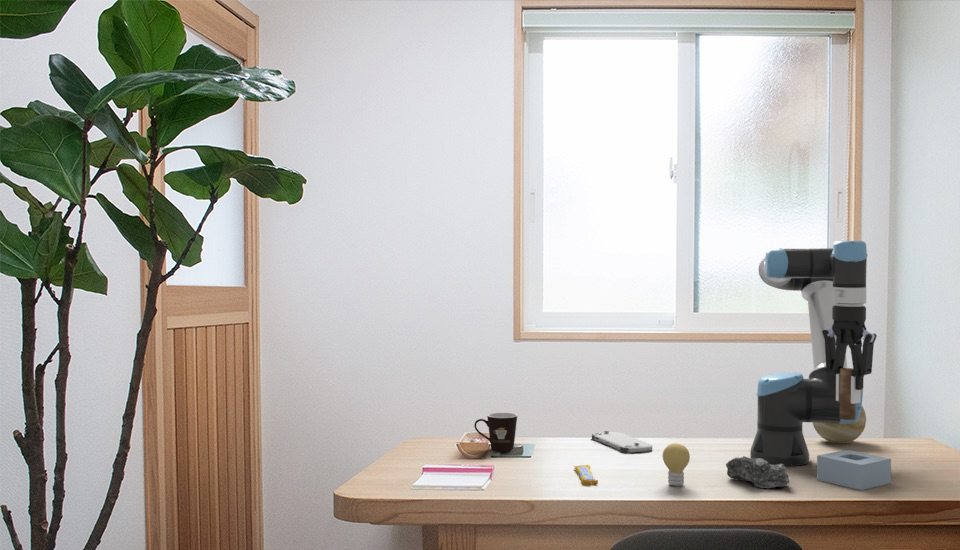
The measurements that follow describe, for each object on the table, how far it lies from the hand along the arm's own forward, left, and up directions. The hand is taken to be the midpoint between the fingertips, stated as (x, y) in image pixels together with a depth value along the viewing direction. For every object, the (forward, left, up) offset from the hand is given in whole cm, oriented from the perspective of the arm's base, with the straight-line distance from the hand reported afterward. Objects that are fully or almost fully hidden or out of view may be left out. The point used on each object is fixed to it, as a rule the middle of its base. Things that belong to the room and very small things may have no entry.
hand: (848, 401), depth 215 cm
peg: (0, 0, -4) cm, 4 cm away
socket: (+1, +3, -20) cm, 20 cm away
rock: (-20, -8, -20) cm, 29 cm away
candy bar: (-60, -19, -21) cm, 66 cm away
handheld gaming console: (-62, +22, -21) cm, 69 cm away
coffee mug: (-93, +1, -20) cm, 95 cm away
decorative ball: (-4, +50, -20) cm, 54 cm away
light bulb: (-38, -18, -20) cm, 46 cm away
